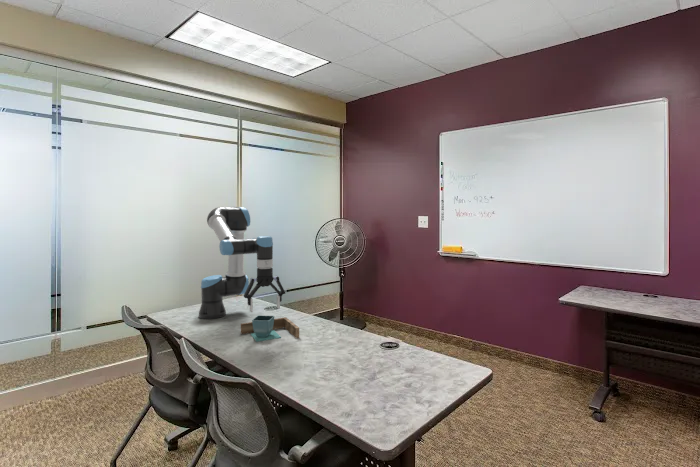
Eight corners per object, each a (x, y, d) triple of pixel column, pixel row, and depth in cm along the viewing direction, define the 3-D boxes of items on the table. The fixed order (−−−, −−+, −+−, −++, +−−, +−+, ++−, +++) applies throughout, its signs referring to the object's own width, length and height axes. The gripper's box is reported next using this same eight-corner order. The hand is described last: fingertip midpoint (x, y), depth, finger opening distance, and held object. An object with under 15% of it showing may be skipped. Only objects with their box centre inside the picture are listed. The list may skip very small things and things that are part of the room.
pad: (250, 334, 184) (250, 333, 184) (273, 330, 190) (273, 329, 190) (256, 341, 174) (256, 341, 174) (281, 337, 180) (281, 337, 180)
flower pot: (258, 332, 186) (257, 315, 186) (275, 333, 185) (274, 315, 185) (251, 338, 177) (251, 320, 177) (269, 339, 176) (269, 320, 176)
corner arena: (240, 333, 186) (240, 323, 186) (286, 326, 197) (286, 317, 197) (250, 346, 168) (249, 335, 168) (299, 337, 180) (299, 327, 180)
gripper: (240, 270, 171) (240, 315, 172) (291, 267, 182) (291, 308, 184) (237, 268, 177) (237, 311, 179) (286, 264, 189) (286, 304, 191)
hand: (264, 309), depth 181 cm, fingers open, 13 cm apart
